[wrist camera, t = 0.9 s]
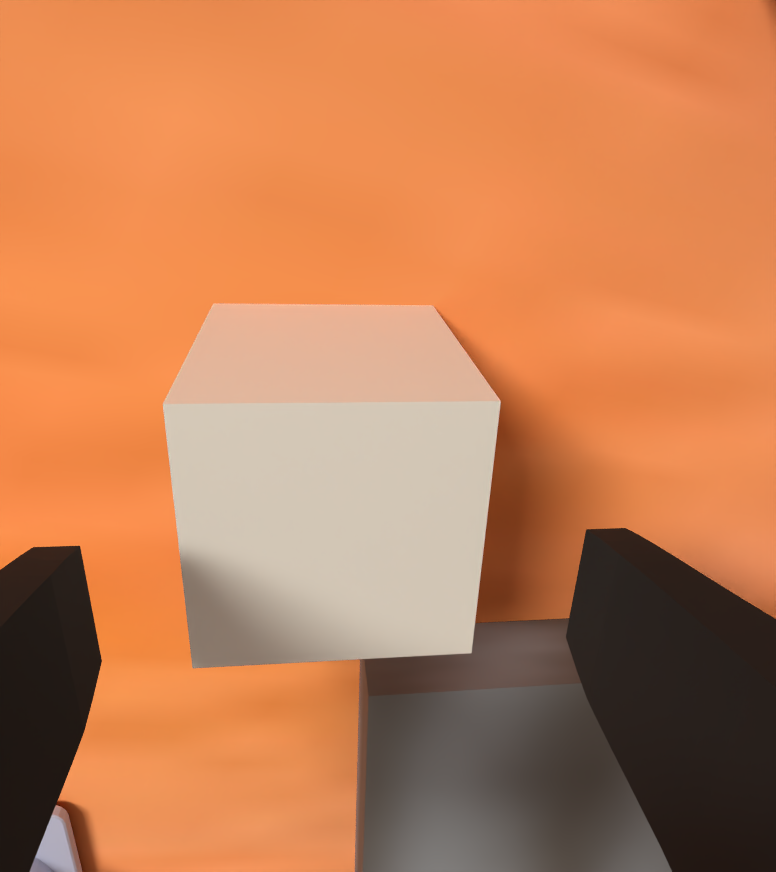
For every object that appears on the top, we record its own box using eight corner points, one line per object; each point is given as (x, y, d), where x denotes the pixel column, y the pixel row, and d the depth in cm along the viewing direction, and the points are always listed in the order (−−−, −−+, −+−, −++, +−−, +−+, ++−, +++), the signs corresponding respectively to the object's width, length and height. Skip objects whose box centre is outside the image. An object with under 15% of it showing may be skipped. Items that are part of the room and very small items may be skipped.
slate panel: (353, 873, 25) (359, 965, 22) (359, 618, 20) (368, 696, 17) (658, 845, 26) (698, 928, 24) (736, 600, 21) (799, 669, 19)
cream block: (227, 496, 17) (192, 668, 12) (213, 303, 15) (162, 404, 10) (420, 491, 18) (471, 653, 12) (432, 305, 16) (500, 401, 10)
